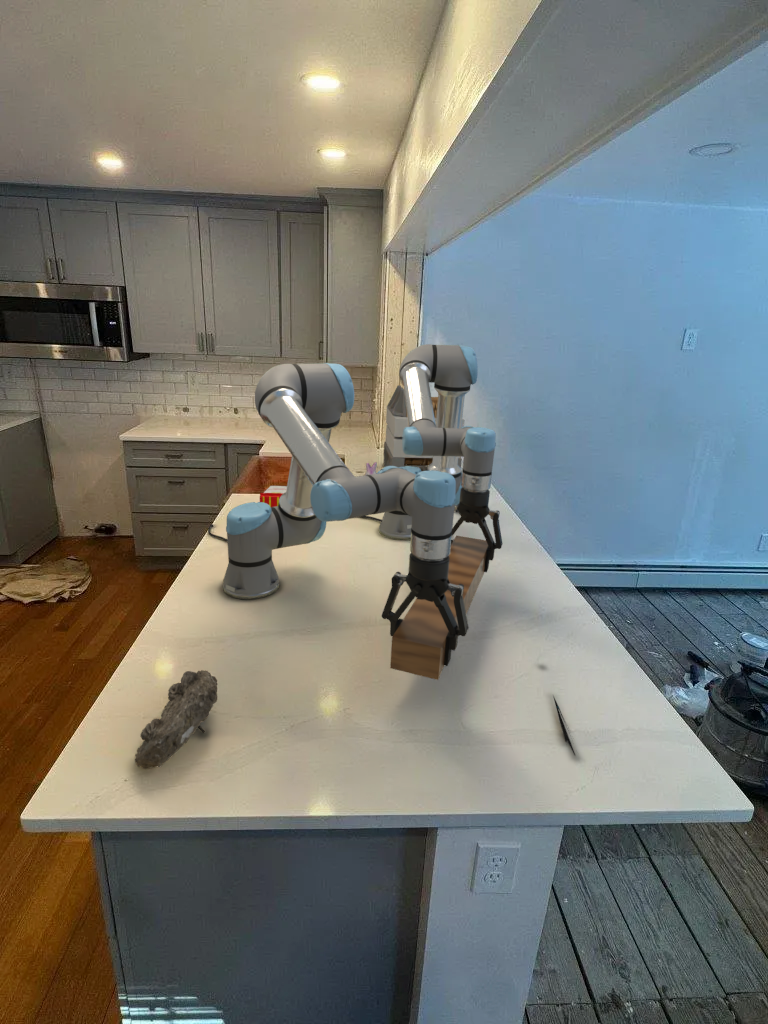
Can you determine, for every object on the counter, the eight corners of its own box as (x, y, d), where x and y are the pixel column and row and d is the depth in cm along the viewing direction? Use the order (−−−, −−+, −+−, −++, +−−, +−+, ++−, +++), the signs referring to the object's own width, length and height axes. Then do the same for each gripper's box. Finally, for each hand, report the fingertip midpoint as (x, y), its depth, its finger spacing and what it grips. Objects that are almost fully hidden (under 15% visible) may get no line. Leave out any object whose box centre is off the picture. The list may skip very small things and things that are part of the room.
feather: (542, 671, 128) (548, 665, 128) (575, 760, 102) (582, 753, 101) (536, 667, 128) (542, 661, 128) (567, 755, 102) (574, 748, 101)
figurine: (367, 502, 230) (368, 467, 225) (357, 495, 238) (358, 460, 233) (388, 500, 234) (389, 465, 229) (377, 492, 242) (378, 458, 237)
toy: (300, 481, 221) (289, 494, 192) (300, 514, 224) (289, 533, 194) (268, 480, 221) (253, 493, 191) (269, 514, 223) (254, 532, 194)
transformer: (382, 463, 289) (386, 382, 275) (445, 464, 293) (451, 384, 279) (390, 482, 257) (394, 392, 243) (460, 483, 261) (468, 394, 247)
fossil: (167, 671, 114) (219, 638, 109) (200, 702, 116) (252, 671, 112) (109, 762, 94) (169, 727, 89) (151, 796, 97) (212, 765, 92)
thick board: (454, 558, 161) (456, 535, 158) (487, 564, 158) (490, 541, 156) (390, 668, 110) (391, 637, 108) (438, 680, 107) (441, 648, 105)
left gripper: (366, 551, 106) (363, 653, 114) (485, 573, 99) (473, 680, 107) (380, 537, 113) (376, 634, 120) (492, 556, 106) (480, 658, 114)
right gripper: (429, 486, 147) (424, 564, 154) (517, 499, 140) (506, 580, 148) (437, 478, 153) (431, 554, 161) (520, 490, 147) (510, 568, 154)
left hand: (421, 655), depth 114 cm, fingers closed on thick board, 10 cm apart
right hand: (467, 566), depth 154 cm, fingers closed on thick board, 10 cm apart
